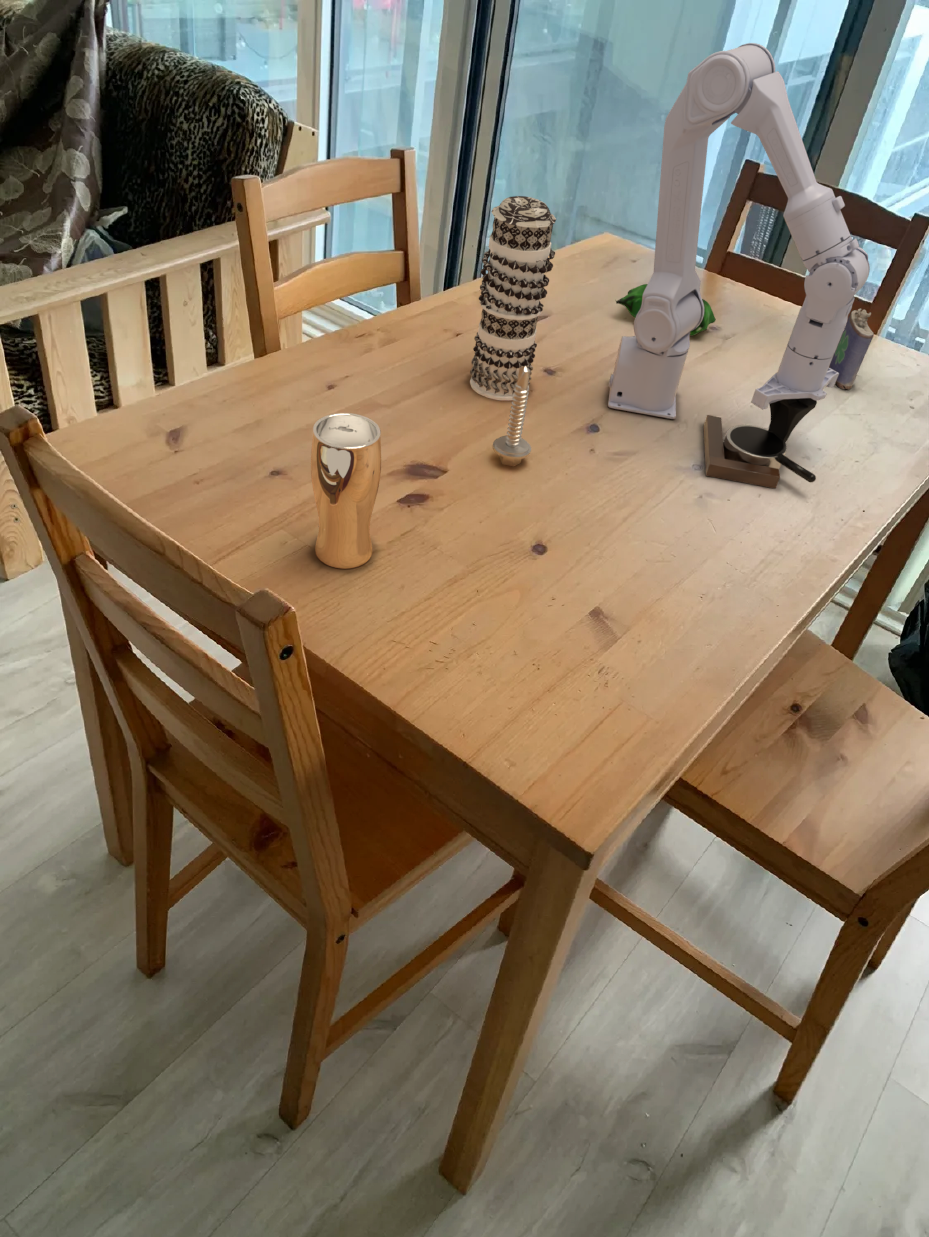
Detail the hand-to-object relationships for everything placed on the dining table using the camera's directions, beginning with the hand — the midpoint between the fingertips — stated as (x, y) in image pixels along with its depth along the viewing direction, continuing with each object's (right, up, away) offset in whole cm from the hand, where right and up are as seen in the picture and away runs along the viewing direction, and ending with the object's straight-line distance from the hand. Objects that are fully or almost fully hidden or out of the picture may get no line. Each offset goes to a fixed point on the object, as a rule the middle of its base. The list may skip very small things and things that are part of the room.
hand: (774, 443), depth 125 cm
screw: (-36, -4, -8) cm, 37 cm away
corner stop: (-5, -2, -1) cm, 6 cm away
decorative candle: (-37, +9, +7) cm, 39 cm away
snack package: (-9, +25, +29) cm, 39 cm away
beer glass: (-55, -17, -25) cm, 62 cm away
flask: (+17, +14, +21) cm, 31 cm away
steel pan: (-2, -4, -3) cm, 6 cm away
